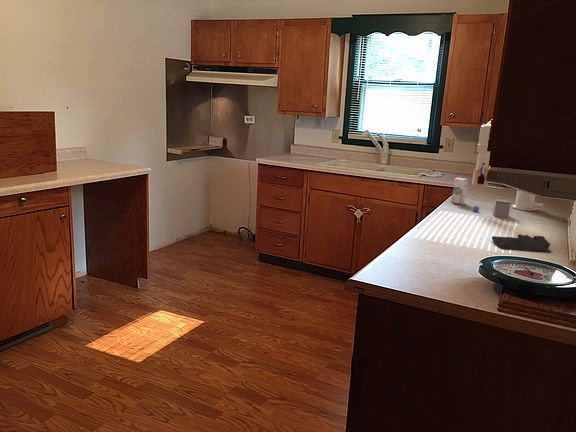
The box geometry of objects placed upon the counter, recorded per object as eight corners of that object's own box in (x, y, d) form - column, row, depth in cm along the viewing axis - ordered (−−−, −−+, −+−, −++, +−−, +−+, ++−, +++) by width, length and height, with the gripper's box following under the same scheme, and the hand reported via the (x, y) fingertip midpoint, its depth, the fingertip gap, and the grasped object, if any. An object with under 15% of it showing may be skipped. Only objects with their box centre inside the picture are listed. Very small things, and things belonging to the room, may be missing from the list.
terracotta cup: (485, 184, 268) (488, 170, 266) (487, 187, 261) (489, 171, 259) (471, 183, 269) (474, 168, 267) (473, 185, 263) (475, 170, 261)
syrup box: (464, 203, 288) (468, 178, 284) (460, 204, 284) (464, 179, 280) (455, 201, 291) (459, 177, 288) (450, 202, 287) (454, 177, 284)
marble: (478, 211, 270) (479, 205, 269) (478, 212, 267) (479, 206, 266) (471, 210, 271) (472, 204, 270) (472, 211, 268) (473, 205, 267)
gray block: (506, 215, 264) (508, 200, 262) (508, 217, 258) (510, 202, 256) (492, 213, 266) (494, 198, 264) (493, 216, 260) (496, 201, 258)
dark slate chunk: (486, 240, 215) (488, 229, 214) (537, 243, 215) (540, 232, 214) (500, 250, 201) (502, 239, 199) (555, 254, 200) (557, 243, 199)
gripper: (475, 147, 270) (471, 179, 274) (478, 150, 253) (473, 184, 258) (490, 148, 268) (485, 181, 272) (494, 151, 252) (489, 186, 256)
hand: (479, 182), depth 265 cm, fingers closed on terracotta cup, 7 cm apart
